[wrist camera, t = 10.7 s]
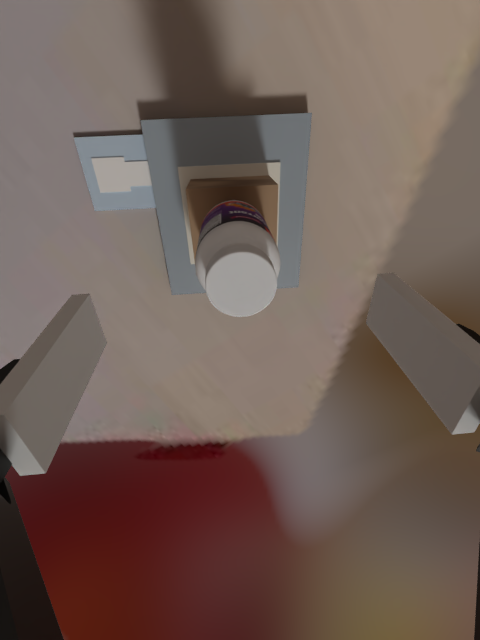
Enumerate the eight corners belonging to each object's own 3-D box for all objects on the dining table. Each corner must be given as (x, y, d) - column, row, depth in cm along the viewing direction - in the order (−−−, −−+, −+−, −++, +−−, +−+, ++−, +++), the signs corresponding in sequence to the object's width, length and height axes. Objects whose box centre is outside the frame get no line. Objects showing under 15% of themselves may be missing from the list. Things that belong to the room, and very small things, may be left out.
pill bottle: (280, 226, 24) (311, 277, 16) (239, 275, 27) (249, 342, 18) (226, 182, 22) (231, 216, 14) (187, 239, 25) (172, 296, 16)
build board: (173, 289, 34) (171, 295, 33) (143, 120, 25) (139, 119, 24) (295, 282, 34) (298, 287, 33) (308, 113, 26) (312, 112, 25)
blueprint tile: (96, 210, 29) (94, 211, 29) (75, 137, 26) (73, 137, 25) (179, 205, 29) (179, 206, 29) (169, 133, 26) (168, 133, 26)
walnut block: (199, 254, 31) (196, 275, 26) (190, 179, 27) (185, 189, 23) (267, 250, 31) (275, 270, 27) (269, 175, 27) (278, 184, 23)
